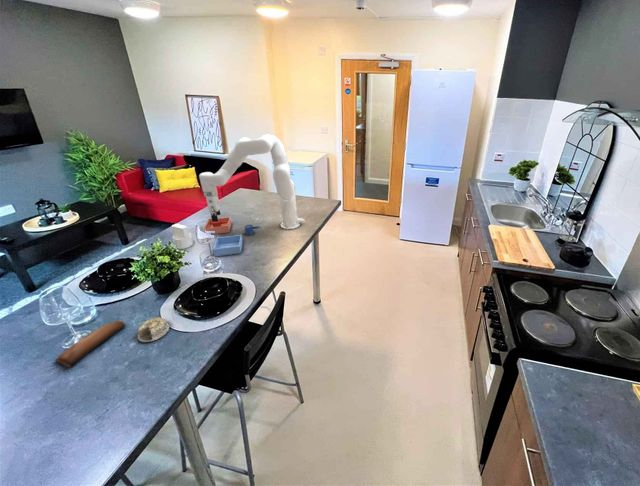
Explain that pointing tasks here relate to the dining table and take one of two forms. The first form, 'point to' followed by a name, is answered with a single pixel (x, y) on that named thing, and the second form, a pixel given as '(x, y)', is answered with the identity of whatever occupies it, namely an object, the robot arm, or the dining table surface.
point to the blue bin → (228, 245)
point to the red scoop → (218, 223)
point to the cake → (152, 329)
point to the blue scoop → (250, 229)
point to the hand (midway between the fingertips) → (216, 218)
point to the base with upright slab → (182, 236)
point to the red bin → (221, 229)
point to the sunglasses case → (89, 343)
